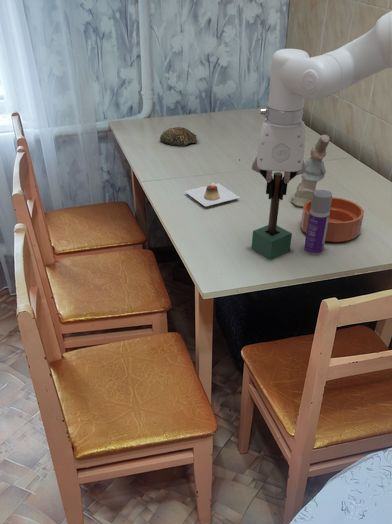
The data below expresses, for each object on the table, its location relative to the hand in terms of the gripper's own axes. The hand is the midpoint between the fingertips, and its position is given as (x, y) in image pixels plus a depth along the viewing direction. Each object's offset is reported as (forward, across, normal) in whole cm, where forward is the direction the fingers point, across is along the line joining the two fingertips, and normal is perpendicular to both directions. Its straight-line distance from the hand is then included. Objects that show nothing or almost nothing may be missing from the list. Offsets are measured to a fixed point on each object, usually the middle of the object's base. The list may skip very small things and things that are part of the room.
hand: (275, 196), depth 127 cm
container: (+14, +11, +1) cm, 18 cm away
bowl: (+14, +16, +13) cm, 25 cm away
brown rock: (+15, -34, +76) cm, 85 cm away
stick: (+11, 0, 0) cm, 11 cm away
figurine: (+14, +10, +30) cm, 34 cm away
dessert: (+15, -18, +29) cm, 37 cm away
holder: (+14, 0, 0) cm, 14 cm away
